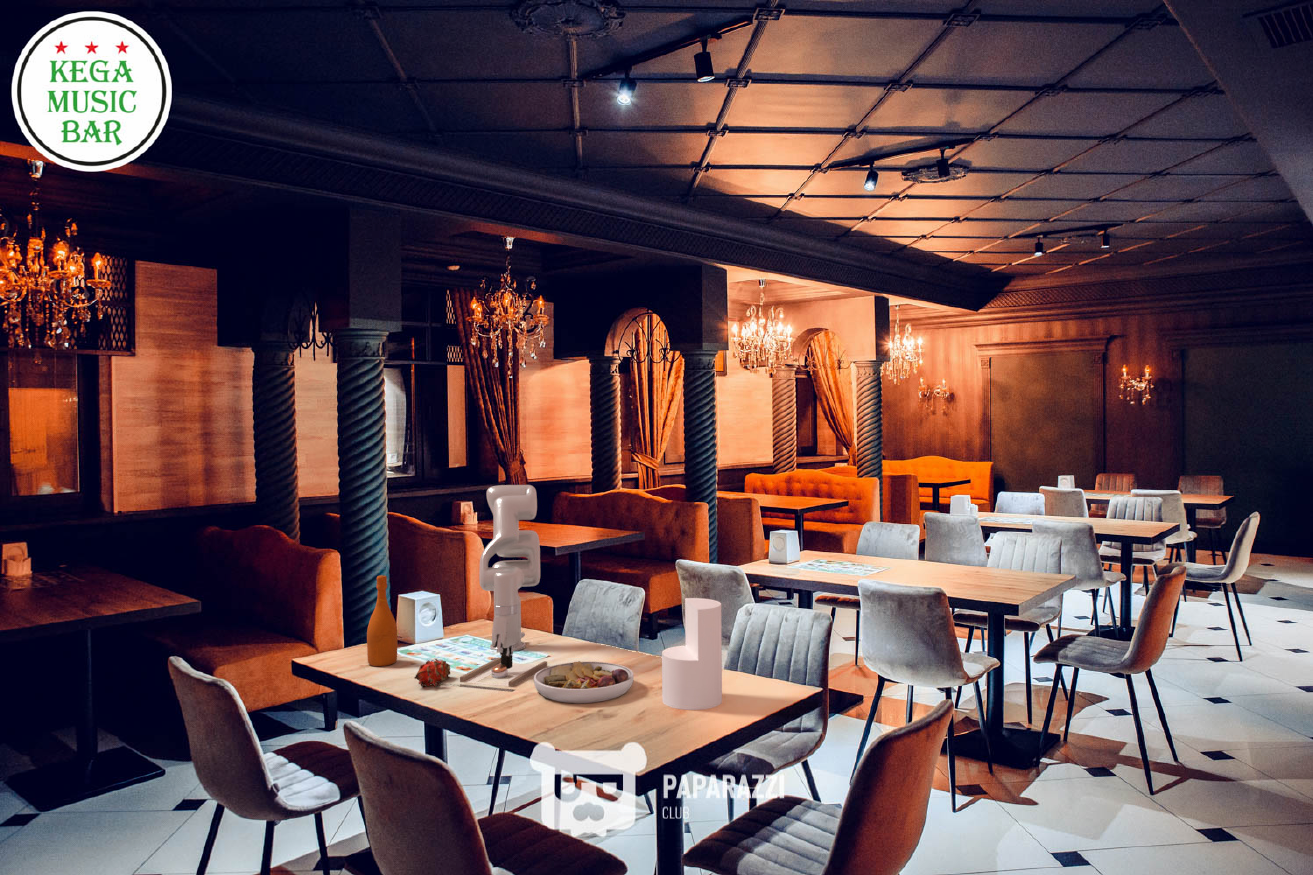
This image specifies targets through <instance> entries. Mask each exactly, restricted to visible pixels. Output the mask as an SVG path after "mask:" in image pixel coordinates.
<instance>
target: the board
mask: <svg viewBox="0 0 1313 875" xmlns="http://www.w3.org/2000/svg"><path fill="white" fill-rule="evenodd" d="M499 664H501V657H497V658H495V659H492V660H491V661H489V662H487V663H485V664H483V665H480V666H479V667H477V668H474V669H473V670H471V671H469V672H467V673H465V674H463V675H461V676H459V683H461V684H459V687H460V688H468V689H469V688H470V689H478V690H479V689H480V690H489V691H499V692H509V693H510V692H511V693H512V692H514V691H516V689H512V688H514V687H515V686H517V685H519V684H520V683H522V682H523V681H525V680H527V679H529V678H530V677H532V676H534V675H535V674H536V673H537V672H538V671H540V670H542V669H544V668H547V667H548V661H542V662H540V663H538V664H526V663H515V662H512V668H510V669H508V676H507V677H510V678H508V679H506V680H505V681H502V682H501V683H491V682H483V681H482V682H481V680H483V679H486V678H487V677H489V676H492V672H491V670H492V667H494V666H495V665H499ZM462 683H467V684H462ZM470 684H471V685H470ZM472 684H477V685H472ZM482 685H487V686H482ZM491 686H493V687H491ZM494 686H497V687H494ZM498 686H499V687H498ZM502 687H507V688H502Z"/></svg>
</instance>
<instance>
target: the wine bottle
mask: <svg viewBox="0 0 1313 875" xmlns="http://www.w3.org/2000/svg"><path fill="white" fill-rule="evenodd" d="M387 581H388V577H387V576H386V575H384V574H381V575H378V576H377V577H376V585H375V586H376V589H377V598H376V603H375V607H374V609H373V612H372V614H371V616H370V619H369V621H368V622H369V623H368V626H367V631H366V652H367V653H366V654H367V663H368V665H370V666H372V667H373V666H374V667H386V666H391V665H392V664H395V663H396V662H397V660H398V626H397V623H396V620H395V618H394V615H393V613H392V611H391V608H390V606H389V603H388V598H387V588H388V582H387Z"/></svg>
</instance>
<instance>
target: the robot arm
mask: <svg viewBox="0 0 1313 875" xmlns="http://www.w3.org/2000/svg"><path fill="white" fill-rule="evenodd" d="M486 500H487V504H488V507H489V508H490V511H491V513H492V516H493V523H492V524H493V525H492V526H493V531H492V532H493V535H492V536H493V538H492V540H491V541H490V542H488V544H487V545H486V546H485V547H484V549H483V551H482V552H481V556H480V558H479V570H478V571H479V572H478V573H479V574H478V575H479V578H478V579H479V586H480V587H481V589H482V590H483V591H486V592H490V591H491V592H493V600H494V601H493V621H492V630H491V631H492V632H491V644H490V646H489V647H490V650H492V651H496V653H499V654H500V655H499V656H500V658H501V664H503V665H506V667H507V669H510V668H512V663H513V654H514V652H517V651H521V650H523V649H525V647H526V643H525V641H524V642H523V641H522V638H524V637H525V636H526V633H525V632H524V631H522V614H521V613H522V606H521V605H522V602H521V596H520V595H519V589H520V588H522V587H524V588H525V587H535V586H537V585H539V583H540V579H541V548H540V546H541V544H540V537H539V534H538V533H537V532H536V531H535V530H527V529H526V530H520V529H519V521H523V520H526V521H528V520H529V521H531V520H534V519H535V518H536V516H537V511H538V498H537V490H536V488H535V487H534V486H533V485H531V484H506V485H505V484H501V485H499V484H498V485H494V486H490V487H488V489H487V490H486ZM495 554H496V555H497V556H498V557H502V558H523V557H524V558H526V559H522V560H521V559H518V560H516V559H515V560H514V559H512V560H510V559H509V560H501V561H497V562H495V563H494V564H493V565H492V567H489V562H490V559H491V558H492V557H493V556H494V555H495Z"/></svg>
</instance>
